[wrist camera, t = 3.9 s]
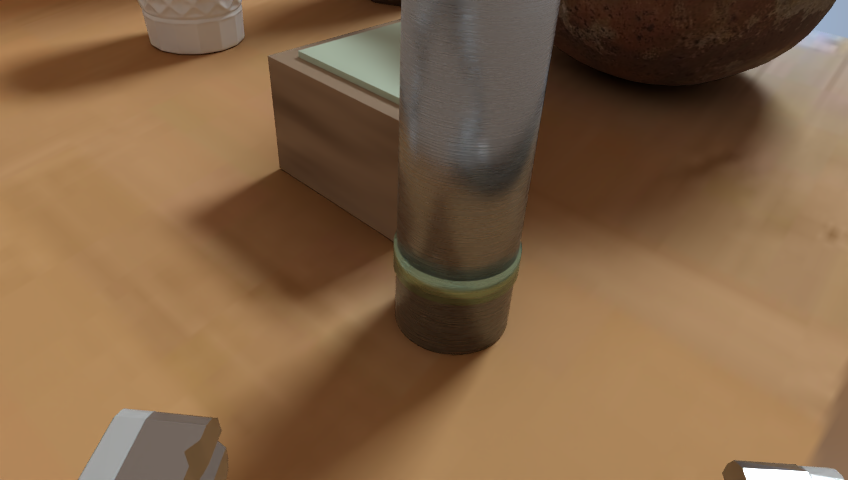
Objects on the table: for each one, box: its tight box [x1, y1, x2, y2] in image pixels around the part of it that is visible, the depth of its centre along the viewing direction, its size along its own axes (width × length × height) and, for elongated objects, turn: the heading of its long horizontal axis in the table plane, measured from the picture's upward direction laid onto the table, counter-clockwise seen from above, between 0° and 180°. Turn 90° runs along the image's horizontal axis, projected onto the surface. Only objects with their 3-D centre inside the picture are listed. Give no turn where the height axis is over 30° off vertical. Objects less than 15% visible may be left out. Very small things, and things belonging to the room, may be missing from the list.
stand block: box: [268, 19, 401, 241], centre depth 32 cm, size 9×9×6 cm
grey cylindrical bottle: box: [393, 0, 560, 354], centre depth 21 cm, size 5×5×13 cm
